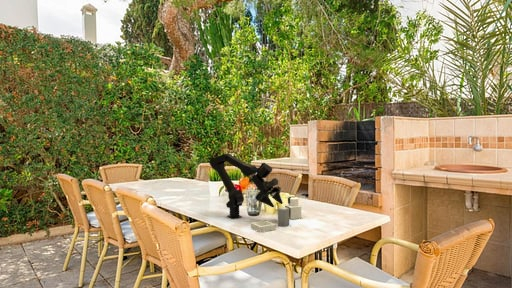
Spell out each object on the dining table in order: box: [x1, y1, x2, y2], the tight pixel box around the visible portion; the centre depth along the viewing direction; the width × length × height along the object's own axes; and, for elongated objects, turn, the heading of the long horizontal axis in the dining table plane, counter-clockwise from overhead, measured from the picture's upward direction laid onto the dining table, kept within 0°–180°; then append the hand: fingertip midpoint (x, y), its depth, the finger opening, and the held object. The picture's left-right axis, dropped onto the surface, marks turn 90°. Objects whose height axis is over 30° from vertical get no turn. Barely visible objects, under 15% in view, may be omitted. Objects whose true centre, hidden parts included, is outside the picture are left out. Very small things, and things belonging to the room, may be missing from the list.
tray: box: [250, 220, 277, 233], centre depth 181 cm, size 9×9×3 cm
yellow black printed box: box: [284, 196, 302, 220], centre depth 203 cm, size 7×7×12 cm
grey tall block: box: [277, 206, 290, 228], centre depth 187 cm, size 4×4×9 cm
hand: (278, 205), depth 189 cm, fingers open, 9 cm apart
